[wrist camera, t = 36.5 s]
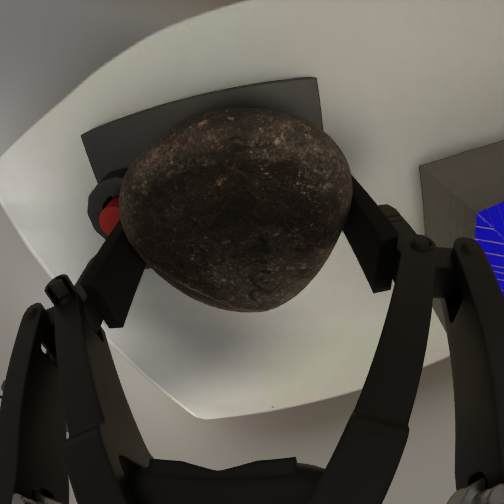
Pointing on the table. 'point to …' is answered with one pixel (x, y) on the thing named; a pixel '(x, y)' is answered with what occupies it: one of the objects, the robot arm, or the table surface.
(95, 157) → the scale
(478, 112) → the table surface
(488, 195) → the house
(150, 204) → the stone
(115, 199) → the tare button
